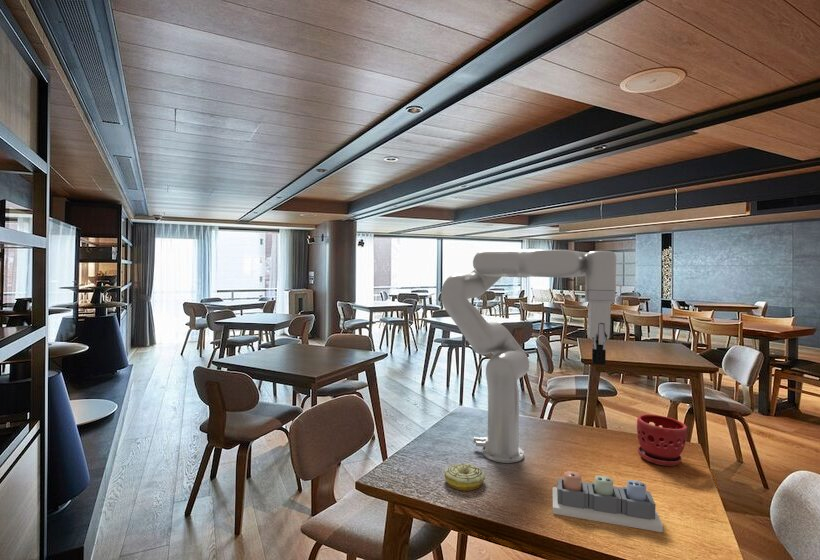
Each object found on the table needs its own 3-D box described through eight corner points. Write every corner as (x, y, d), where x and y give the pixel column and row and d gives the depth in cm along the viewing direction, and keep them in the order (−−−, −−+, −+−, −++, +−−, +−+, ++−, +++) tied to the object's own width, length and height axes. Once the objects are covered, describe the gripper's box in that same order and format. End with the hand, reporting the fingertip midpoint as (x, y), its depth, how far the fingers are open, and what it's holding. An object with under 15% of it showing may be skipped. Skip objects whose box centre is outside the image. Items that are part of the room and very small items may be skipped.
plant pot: (661, 472, 123) (662, 430, 123) (626, 453, 136) (627, 415, 135) (696, 466, 127) (698, 426, 126) (659, 448, 139) (660, 411, 139)
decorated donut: (491, 482, 117) (492, 468, 117) (470, 498, 109) (470, 483, 109) (460, 469, 124) (460, 456, 124) (437, 483, 116) (437, 470, 116)
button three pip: (628, 508, 100) (628, 486, 99) (625, 499, 103) (625, 478, 103) (647, 511, 98) (648, 489, 98) (643, 502, 102) (644, 480, 102)
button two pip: (595, 503, 102) (595, 481, 102) (593, 494, 106) (594, 473, 105) (613, 506, 101) (614, 484, 100) (611, 497, 104) (611, 476, 104)
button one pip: (563, 498, 104) (564, 476, 104) (563, 489, 108) (563, 469, 108) (581, 500, 103) (582, 479, 103) (580, 492, 106) (580, 471, 106)
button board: (552, 513, 102) (553, 492, 102) (552, 492, 111) (552, 473, 111) (662, 532, 95) (663, 510, 95) (652, 508, 104) (652, 488, 104)
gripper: (583, 294, 125) (581, 357, 126) (587, 297, 111) (585, 368, 111) (611, 295, 123) (610, 359, 123) (619, 298, 109) (617, 371, 109)
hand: (598, 363), depth 117 cm, fingers closed
